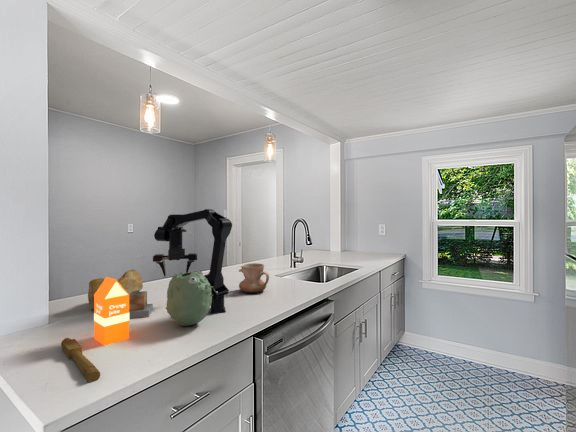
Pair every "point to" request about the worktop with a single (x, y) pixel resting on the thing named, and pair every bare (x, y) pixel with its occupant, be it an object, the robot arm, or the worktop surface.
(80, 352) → the tap handle
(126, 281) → the rough brown rock
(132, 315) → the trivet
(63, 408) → the worktop surface
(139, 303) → the cube
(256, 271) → the ceramic jug
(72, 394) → the worktop surface
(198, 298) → the green bumpy vase
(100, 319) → the orange juice
